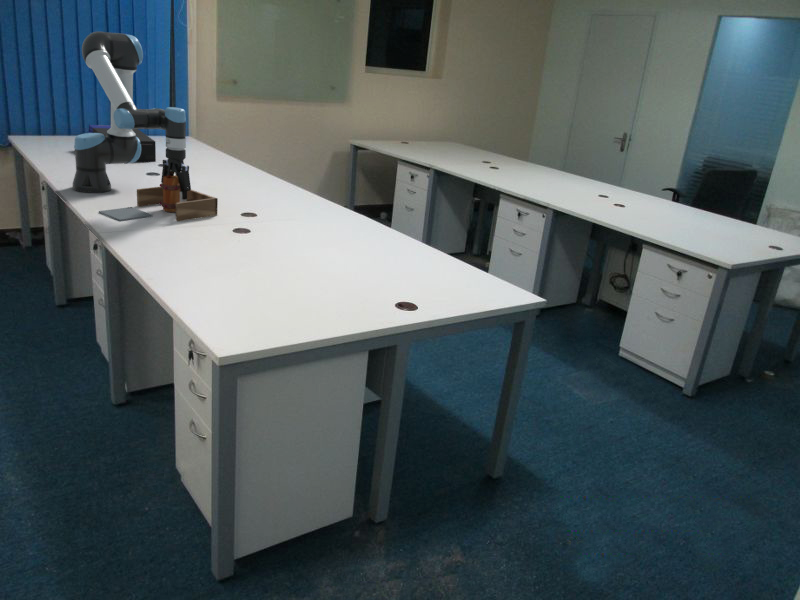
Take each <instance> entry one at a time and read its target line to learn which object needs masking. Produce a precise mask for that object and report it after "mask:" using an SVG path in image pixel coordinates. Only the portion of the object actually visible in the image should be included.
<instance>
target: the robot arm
mask: <svg viewBox="0 0 800 600" xmlns="http://www.w3.org/2000/svg"><path fill="white" fill-rule="evenodd" d="M81 55H82V59H83V61H84V63H85V64H86V66H87V67H88V68H89V69H91V70H92V71H93V73H94V75H95V77H96V79H97V80H98V82H99V84H100V86H101V88H102V89H103V91H104V92H105V95H106V97H107V98H108V100H109V102H110V125H111V128H110V129H109V130H108V131H107V137H105V136H104V135H103V134H101V133H89V132H88V133H86V132H85V133H82V134H77V136H75V138H74V145H73V146H74V147H73V149H74V157H75V158H74V159H75V173H74V178H73V181H72V189H73V190H74V191H76V192H81V193H97V194H98V193H99V194H100V193H105V192H106V193H107V192H109V191H111V190H112V184H111V181H110V178H109V176H108V173H107V165H116V164H118V165H119V164H125V165H126V164H132V163H137V162H136V161H137V160H138V159H139V157H140V154H141V144H140V140H139V139H138V138H137V137H136V134H135V133H134V132H133V130H132V129H138V130H163V131H165V147H166V148H165V158H167V159H162V172H161V178H160V179H161V180H160V182H161V183H160V184H162V183H163V177H164V176H167V175H171V176H175V175H177V177H178V179H179V184H180V188H181V190H180V202H187V191H190V190H192V187H191V178H190V166H189V165H186V164H185V163H184V161H185V159H186V157H187V156H186V153H187V151H186V147H187V146H186V145H187V144H186V141H187V140H186V135H187V133H186V132H187V130H186V129H187V126H186V125H187V123H186V122H187V117H186V110H185V109H184V108H181V107H175V106H169V107H168V106H167V107H165V109H163V108H160V107H159V108H157V107H153V108H149V109H148V108H147V109H146V108H145V109H144V108H137V106H136V105H135V103H134V101H133V99H134V98H133V97H134V96H133V91H134V88H133V87H134V85H133V84H134V81H133V80H134V73H136V72H137V70H138V66H139V65H141V64H142V62H143V59H144V51H143V47H142V45H141V43H140V40H139V39H138V38H137V37H136V36H134V35H131V34H127V33H119V32H108V31H107V32H105V31H94V32H91V33H89V34H88V35H86V37H85V38H84V40H83V42H82V45H81Z"/></svg>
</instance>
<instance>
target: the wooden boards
mask: <svg viewBox="0 0 800 600" xmlns="http://www.w3.org/2000/svg"><path fill="white" fill-rule="evenodd" d="M162 200H163V188H162V187H160V186H154V187H144V188H137V189H136V206H137V207H147V206H154V205H160V204H159V202H161V201H162ZM218 200H219V199H218V197H215V196H212V195H208V194H205V193H202V192H200V191H196V190H193V189H191V190H190V191H187V202H180V203H176V212H175V221H176V222H181V221H188V220H195V218H196V219H201V217H202V218H208V217H213V216H218V205H219V204H218V202H219V201H218ZM207 216H208V217H207Z"/></svg>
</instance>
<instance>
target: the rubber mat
mask: <svg viewBox="0 0 800 600" xmlns="http://www.w3.org/2000/svg"><path fill="white" fill-rule="evenodd" d="M98 214H102V215H104V216H106V217H109V218H111V219H113V220H116V221H119V222H124V221H130V220H137V219H144V218H152V217H153V214H151V213H149V212H146V211H143V210H141V209H138V208H135V207H133V206H130V207H129V206H128V207H121V208H120V207H119V208H114V209H106V210H99V211H98Z"/></svg>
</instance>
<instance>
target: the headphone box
mask: <svg viewBox="0 0 800 600" xmlns="http://www.w3.org/2000/svg"><path fill="white" fill-rule="evenodd" d="M110 128H111V124H109V125H107V124H106V125H105V124H88V133H101V134H103V135H104V136H105V137H107V131H108V130H109V129H110ZM132 130H133V132H134V133H135V134H136V137H137V138H138V139H139V140H140V144H141V154H140V157H139V159H138V160H137V161H136V162H135V163H144V162H145V163H153V162H156V161H157V160H156V159H157V157H156V154H157V153H156V147H157V146H156V140H154V139H152V138H151V137H150V136H148V135H147V134H146V133H144V132H143V131H142V130H141V129H132Z"/></svg>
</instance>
